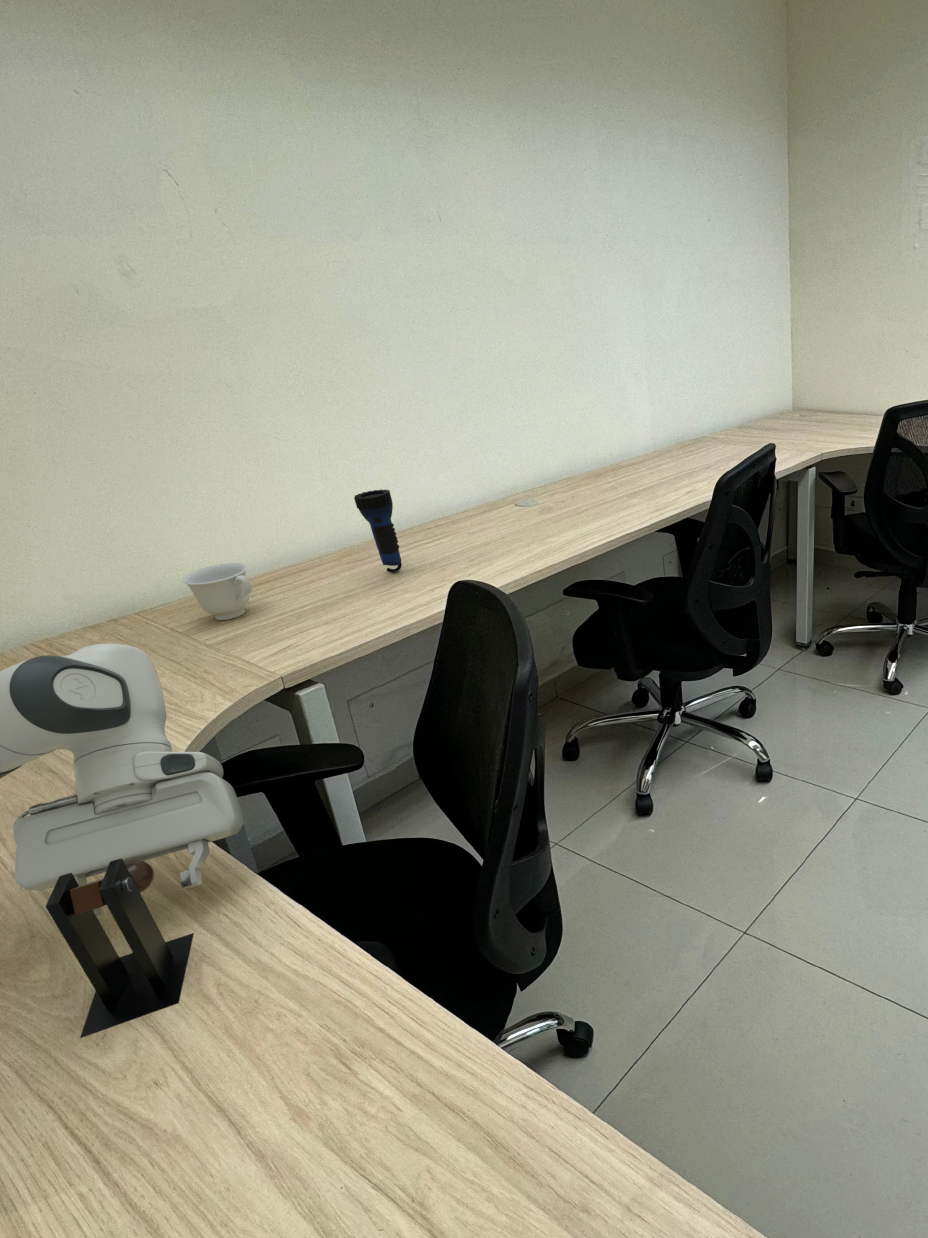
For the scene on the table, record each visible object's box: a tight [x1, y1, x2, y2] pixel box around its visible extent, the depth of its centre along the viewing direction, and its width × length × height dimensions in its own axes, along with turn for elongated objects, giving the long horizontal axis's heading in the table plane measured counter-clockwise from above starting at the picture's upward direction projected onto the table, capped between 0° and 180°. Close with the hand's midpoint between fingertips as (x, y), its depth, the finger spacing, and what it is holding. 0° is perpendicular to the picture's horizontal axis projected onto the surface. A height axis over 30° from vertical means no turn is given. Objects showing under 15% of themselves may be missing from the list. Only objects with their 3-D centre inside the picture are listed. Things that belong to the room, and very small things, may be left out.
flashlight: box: [353, 489, 403, 573], centre depth 183 cm, size 8×8×20 cm
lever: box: [70, 861, 155, 915], centre depth 78 cm, size 13×4×4 cm, turn 26°
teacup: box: [181, 562, 253, 621], centre depth 165 cm, size 12×15×10 cm
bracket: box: [45, 858, 195, 1039], centre depth 75 cm, size 10×8×15 cm
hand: (142, 901), depth 83 cm, fingers open, 8 cm apart
